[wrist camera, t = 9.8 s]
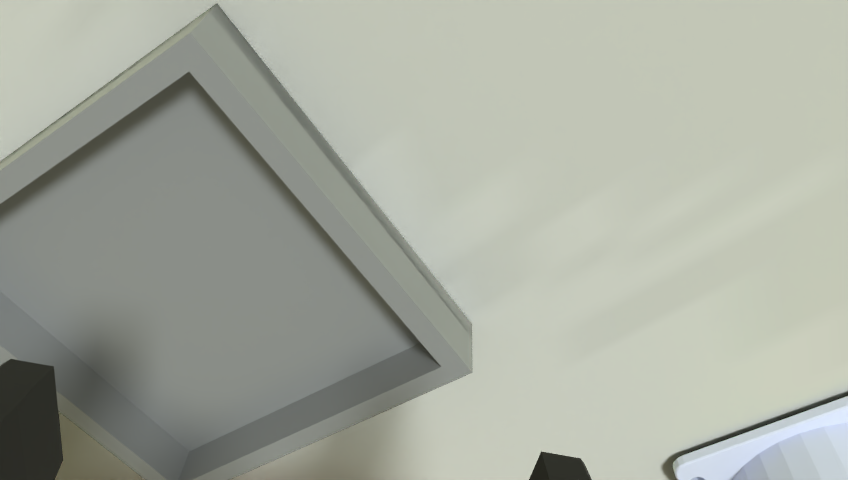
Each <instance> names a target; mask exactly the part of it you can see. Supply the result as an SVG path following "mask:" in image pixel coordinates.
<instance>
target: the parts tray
mask: <svg viewBox="0 0 848 480" xmlns="http://www.w3.org/2000/svg"><path fill="white" fill-rule="evenodd" d="M10 359H15V360H20V361H26V362H32V363H37V364H43V365H49V366H54V372H55V383H56V393H57V404H58V411H59V412H60V413H62V414H63V415H64V416H65V417H67V418H68V419H69V420H70V421H72V422H73V423H74V424H75V425H77V426H78V427H79V428H80V429H82V430H83V431H84V432H86V433H87V434H88V435H89V436H91V437H92V438H93V439H94V440H96V441H97V442H98V443H99V444H101V445H102V446H103V447H104V448H106V449H107V450H108V451H109V452H111V453H112V454H113V455H115V456H116V457H117V458H118V459H120V460H121V461H122V462H123V463H125V464H126V465H127V466H128V467H130V468H131V469H132V470H133V471H135V472H136V473H137V474H138V475H140V476H141V477H142V478H144V479H145V480H230V479H233V478H235V477H237V476H239V475H242V474H244V473H246V472H249V471H251V470H253V469H255V468H258V467H260V466H262V465H264V464H267V463H269V462H271V461H273V460H276V459H278V458H280V457H282V456H285V455H287V454H289V453H291V452H294V451H296V450H298V449H301V448H303V447H305V446H307V445H310V444H312V443H314V442H316V441H319V440H321V439H323V438H325V437H328V436H330V435H332V434H334V433H337V432H339V431H341V430H344V429H346V428H348V427H350V426H353V425H355V424H357V423H359V422H362V421H364V420H366V419H368V418H371V417H373V416H375V415H377V414H380V413H382V412H384V411H387V410H389V409H391V408H393V407H396V406H398V405H400V404H402V403H405V402H407V401H409V400H411V399H414V398H416V397H418V396H420V395H423V394H425V393H427V392H430V391H432V390H434V389H436V388H439V387H441V386H443V385H445V384H448V383H450V382H452V381H454V380H457V379H459V378H461V377H463V376H466V375H468V374H470V373H472V324H471V322H470V321H469V320H468V319H467V317H466V316H465V315H464V314H463V312H462V311H461V310H460V309H459V307H458V306H457V305H456V304H455V302H454V301H453V300H452V299H451V297H450V296H449V295H448V294H447V292H446V291H445V290H444V288H443V287H442V286H441V285H440V283H439V282H438V281H437V280H436V278H435V277H434V276H433V275H432V273H431V272H430V271H429V270H428V268H427V267H426V266H425V265H424V263H423V262H422V261H421V260H420V258H419V257H418V256H417V255H416V253H415V252H414V251H413V249H412V248H411V247H410V246H409V244H408V243H407V242H406V241H405V239H404V238H403V237H402V236H401V234H400V233H399V232H398V231H397V229H396V228H395V227H394V226H393V224H392V223H391V222H390V221H389V219H388V218H387V217H386V216H385V214H384V213H383V212H382V210H381V209H380V208H379V207H378V205H377V204H376V203H375V202H374V200H373V199H372V198H371V197H370V195H369V194H368V193H367V192H366V190H365V189H364V188H363V187H362V185H361V184H360V183H359V182H358V180H357V179H356V178H355V177H354V175H353V174H352V173H351V171H350V170H349V169H348V168H347V166H346V165H345V164H344V163H343V161H342V160H341V159H340V158H339V156H338V155H337V154H336V153H335V151H334V150H333V149H332V148H331V146H330V145H329V144H328V143H327V141H326V140H325V139H324V138H323V136H322V135H321V134H320V133H319V131H318V130H317V129H316V127H315V126H314V125H313V124H312V122H311V121H310V120H309V119H308V117H307V116H306V115H305V114H304V112H303V111H302V110H301V109H300V107H299V106H298V105H297V104H296V102H295V101H294V100H293V99H292V97H291V96H290V95H289V94H288V92H287V91H286V90H285V88H284V87H283V86H282V85H281V83H280V82H279V81H278V80H277V78H276V77H275V76H274V75H273V73H272V72H271V71H270V70H269V68H268V67H267V66H266V65H265V63H264V62H263V61H262V60H261V58H260V57H259V56H258V55H257V53H256V52H255V51H254V49H253V48H252V47H251V46H250V44H249V43H248V42H247V41H246V39H245V38H244V37H243V36H242V34H241V33H240V32H239V31H238V29H237V28H236V27H235V26H234V24H233V23H232V22H231V21H230V19H229V18H228V17H227V16H226V14H225V13H224V12H223V10H222V9H221V8H220V7H219V5H218V4H215V5H214V6H213V7H211V8H210V9H208V10H207V11H206V12H204V13H203V14H202V15H200V16H199V17H197V18H196V19H195V20H193V21H192V22H191V23H189V24H188V25H187V26H185V27H184V28H182V29H181V30H180V31H178V32H177V33H176V34H174V35H173V36H171V37H170V38H169V39H167V40H166V41H165V42H163V43H162V44H161V45H159V46H158V47H156V48H155V49H154V50H152V51H151V52H150V53H148V54H147V55H145V56H144V57H143V58H141V59H140V60H139V61H137V62H136V63H135V64H133V65H132V66H130V67H129V68H128V69H126V70H125V71H124V72H122V73H121V74H119V75H118V76H117V77H115V78H114V79H113V80H111V81H110V82H109V83H107V84H106V85H104V86H103V87H102V88H100V89H99V90H98V91H96V92H95V93H93V94H92V95H91V96H89V97H88V98H87V99H85V100H84V101H83V102H81V103H80V104H78V105H77V106H76V107H74V108H73V109H72V110H70V111H69V112H67V113H66V114H65V115H63V116H62V117H61V118H59V119H58V120H57V121H55V122H54V123H52V124H51V125H50V126H48V127H47V128H46V129H44V130H43V131H41V132H40V133H39V134H37V135H36V136H35V137H33V138H32V139H30V140H29V141H28V142H26V143H25V144H24V145H22V146H21V147H20V148H18V149H17V150H15V151H14V152H13V153H11V154H10V155H9V156H7V157H6V158H4V159H3V160H2V161H0V365H2V364H3V363H5V362H6V361H8V360H10Z"/></svg>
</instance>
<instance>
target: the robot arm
mask: <svg viewBox="0 0 848 480" xmlns="http://www.w3.org/2000/svg"><path fill="white" fill-rule="evenodd" d="M62 461H63V455H62V445H61V435H60V424H59V414H58V404H57V393H56V383H55V372H54V366H49V365H43V364H37V363H32V362H26V361H20V360H15V359H10V360H8V361H6V362H5V363H3V364H2V365H0V480H55V477H56V475H57V473H58V470H59V468H60V466H61V463H62ZM673 470H674V473H675V476H676V478H677V480H848V396H846V397H843V398H841V399H838V400H835V401H832V402H829V403H827V404H824V405H821V406H818V407H816V408H813V409H810V410H807V411H804V412H802V413H799V414H796V415H793V416H791V417H788V418H785V419H782V420H779V421H777V422H774V423H771V424H768V425H766V426H763V427H760V428H757V429H754V430H752V431H749V432H746V433H743V434H741V435H738V436H735V437H732V438H729V439H727V440H724V441H721V442H718V443H716V444H713V445H710V446H707V447H704V448H702V449H699V450H696V451H693V452H691V453H688V454H685V455H682V456H680V457H678V458H677V459H676V460H675V461H674V463H673ZM529 480H592V479H591V477H590V475H589V473H588V471H587V468H586V466H585V464H584V463H583V461H582V460H581V459H580V458H574V457H569V456H563V455H557V454H552V453H546V452H541V454H540V456H539V458H538V461H537V463H536V465H535V467H534V470H533V472H532V474H531V477H530V479H529Z"/></svg>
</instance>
